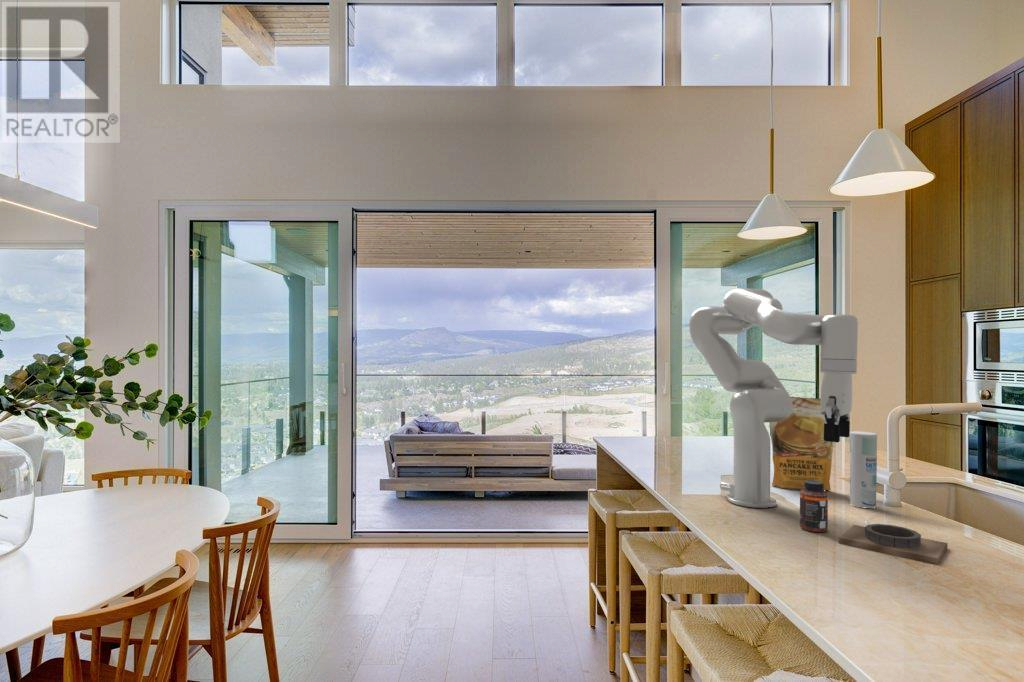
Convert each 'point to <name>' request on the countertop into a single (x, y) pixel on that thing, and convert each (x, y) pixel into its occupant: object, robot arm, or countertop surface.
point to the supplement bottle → (813, 507)
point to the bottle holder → (894, 542)
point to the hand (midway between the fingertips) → (836, 439)
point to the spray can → (863, 468)
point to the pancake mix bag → (801, 446)
